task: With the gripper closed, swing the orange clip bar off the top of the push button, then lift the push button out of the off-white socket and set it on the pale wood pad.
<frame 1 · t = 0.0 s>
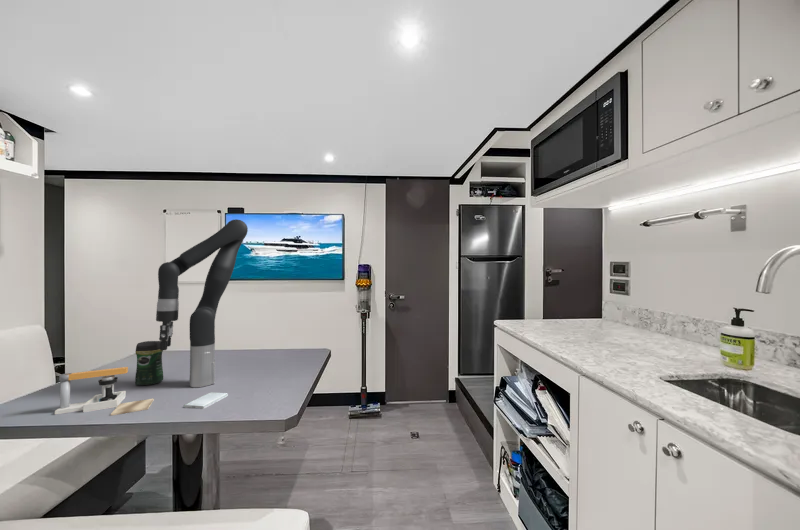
hand: (165, 348, 133), 17 cm above the table, tool pointing down, fingers open, 8 cm apart
wood pad: (133, 407, 114), on the table
hard drive: (206, 403, 119), on the table
clip bar: (94, 373, 116), point 12 cm above the table, hinge at 0.0°
socket housing: (105, 404, 117), on the table
coffee jar: (149, 383, 141), on the table
push button: (105, 404, 117), on the table
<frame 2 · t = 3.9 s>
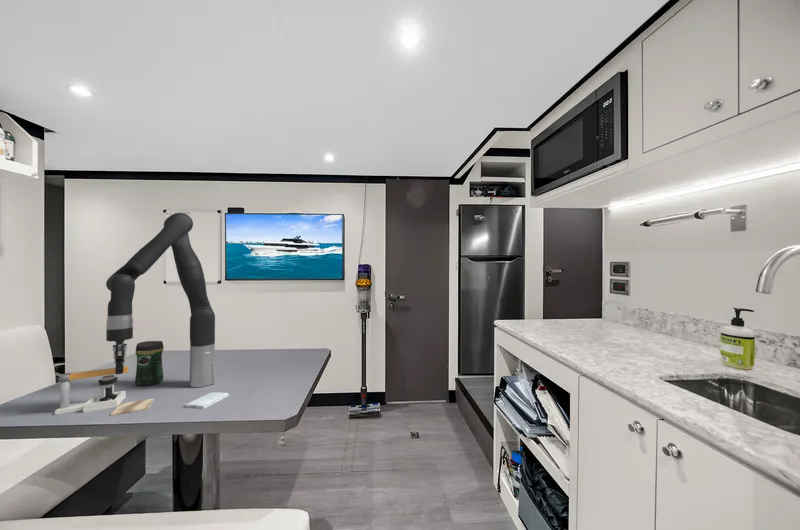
hand: (119, 373, 118), 11 cm above the table, tool pointing down, fingers closed
clip bar: (95, 373, 117), point 12 cm above the table, hinge at 4.4°, touching gripper
everything else where it was.
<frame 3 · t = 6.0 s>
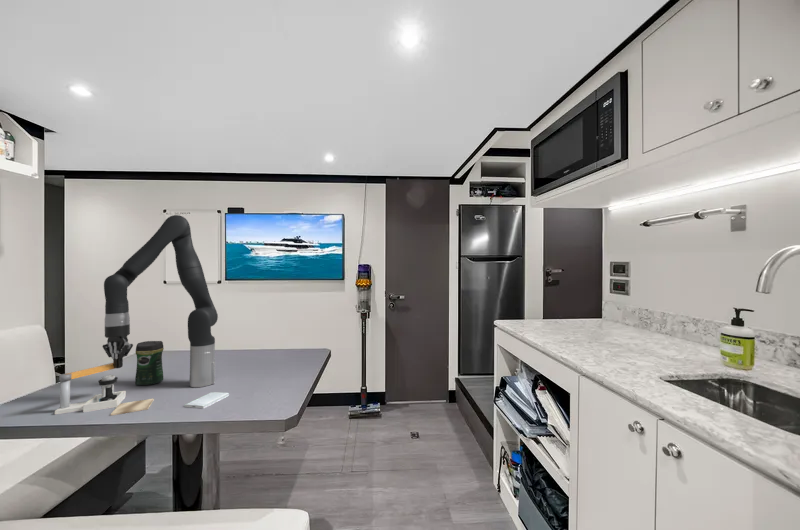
hand: (118, 367, 126), 11 cm above the table, tool pointing down, fingers closed
clip bar: (91, 370, 120), point 12 cm above the table, hinge at 46.2°, touching gripper
everything else where it was.
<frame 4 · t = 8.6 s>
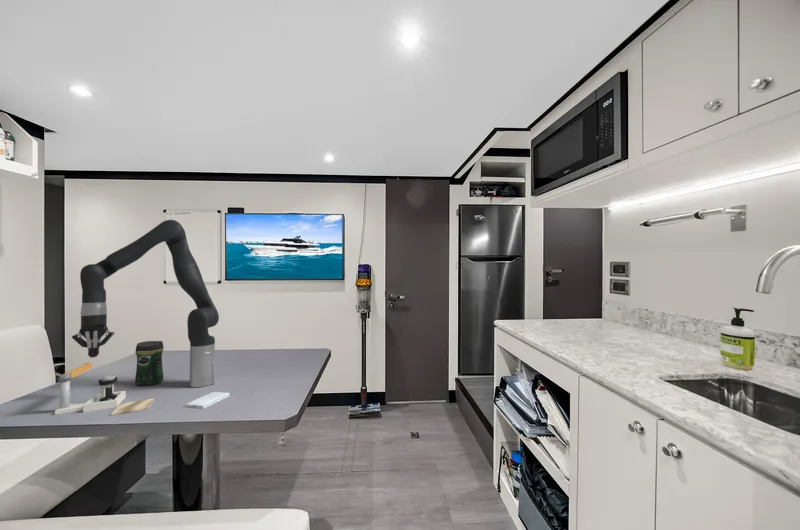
hand: (93, 357, 127), 15 cm above the table, tool pointing down, fingers closed
clip bar: (77, 371, 120), point 12 cm above the table, hinge at 85.8°
everything else where it was.
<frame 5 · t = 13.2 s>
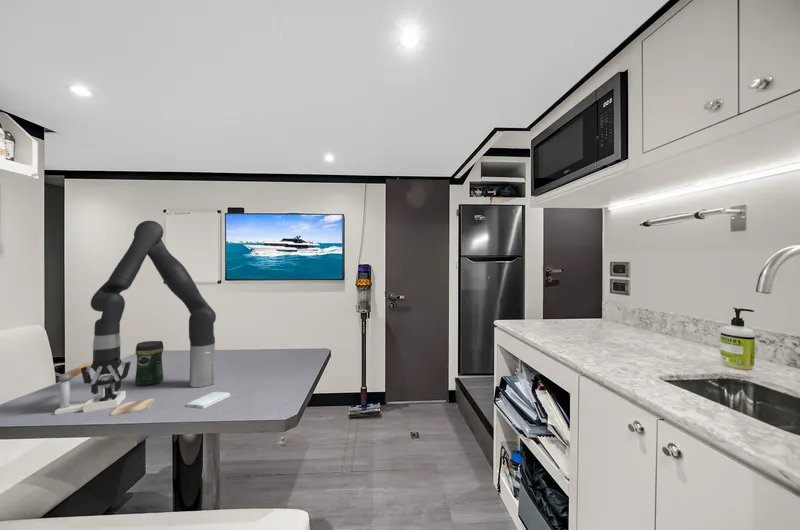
hand: (106, 392, 118), 4 cm above the table, tool pointing down, fingers closed on push button, 5 cm apart
push button: (105, 404, 117), on the table, touching gripper
everything else where it was.
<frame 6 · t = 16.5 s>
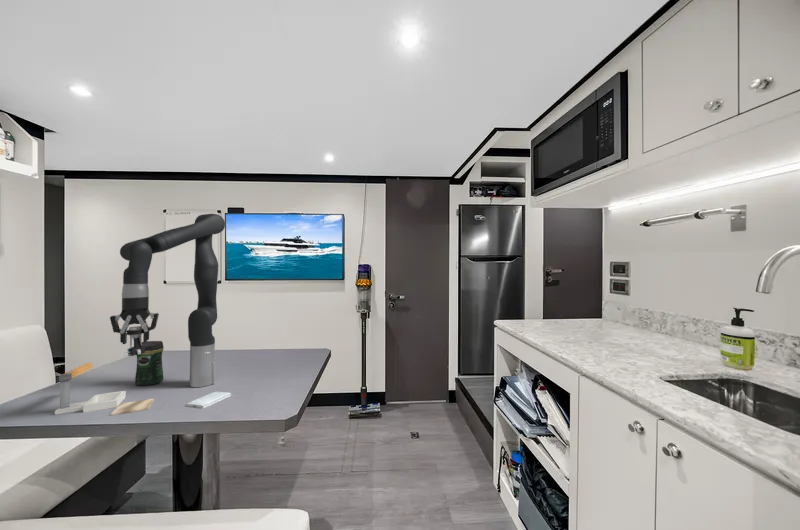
hand: (134, 342, 115), 23 cm above the table, tool pointing down, fingers closed on push button, 5 cm apart
push button: (134, 355, 115), point 19 cm above the table, touching gripper
everything else where it was.
when the fingers open (7 cm above the table, at t = 20.0 s): push button drops 2 cm, resting on wood pad.
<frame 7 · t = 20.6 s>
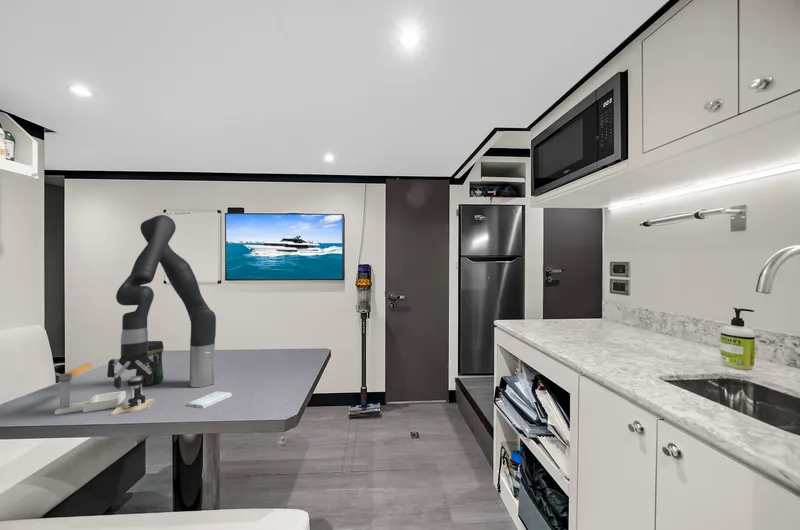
hand: (133, 385, 114), 8 cm above the table, tool pointing down, fingers open, 8 cm apart
push button: (134, 406, 114), resting on wood pad
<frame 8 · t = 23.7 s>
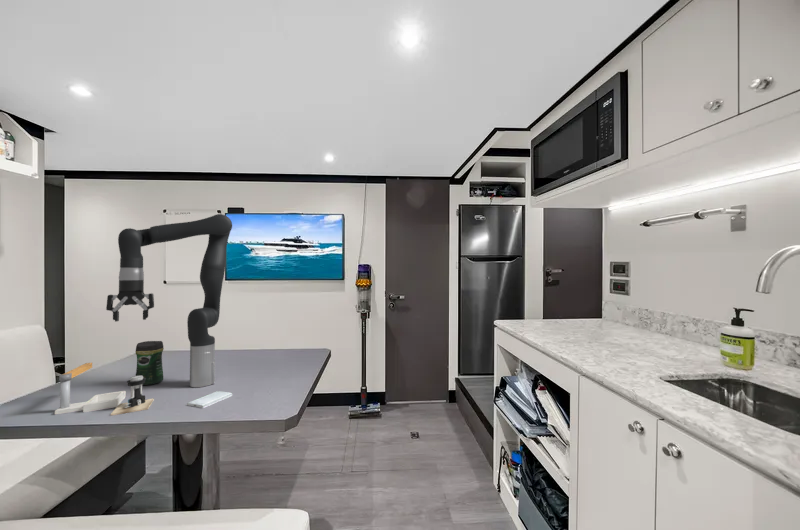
hand: (130, 320, 125), 30 cm above the table, tool pointing down, fingers open, 8 cm apart
at the end: clip bar at +86° (first picture: +0°); push button inside the target area on the wood pad (0.2 cm from its centre), point 0.4 cm above the wood pad's base; push button tilted 0° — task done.
